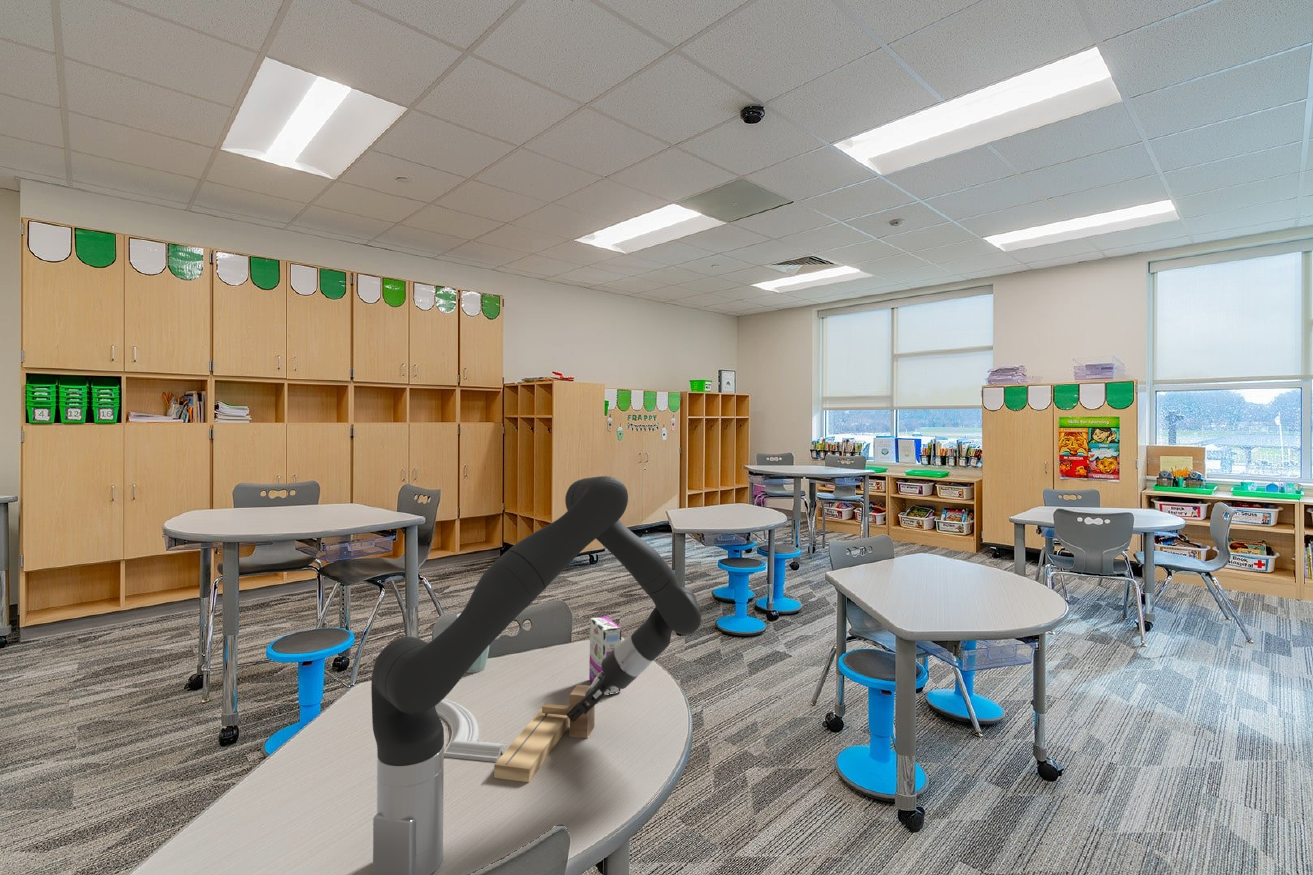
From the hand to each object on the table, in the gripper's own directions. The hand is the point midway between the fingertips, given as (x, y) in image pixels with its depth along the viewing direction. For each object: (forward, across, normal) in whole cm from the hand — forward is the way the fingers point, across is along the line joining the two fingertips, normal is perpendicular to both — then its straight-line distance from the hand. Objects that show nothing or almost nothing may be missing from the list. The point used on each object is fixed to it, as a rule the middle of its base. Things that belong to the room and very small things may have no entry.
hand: (576, 708), depth 129 cm
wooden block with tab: (+5, 0, +2) cm, 5 cm away
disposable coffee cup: (+31, -26, -24) cm, 47 cm away
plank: (+8, +8, -1) cm, 11 cm away
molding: (+23, 0, -15) cm, 27 cm away
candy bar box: (+4, -23, +3) cm, 24 cm away
